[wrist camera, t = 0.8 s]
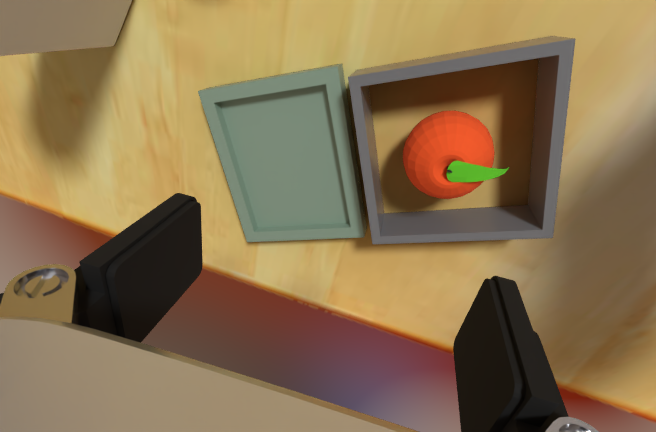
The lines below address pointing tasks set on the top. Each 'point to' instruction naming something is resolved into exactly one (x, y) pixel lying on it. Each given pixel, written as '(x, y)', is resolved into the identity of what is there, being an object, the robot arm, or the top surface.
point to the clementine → (449, 155)
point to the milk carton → (59, 24)
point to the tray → (289, 155)
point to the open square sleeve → (544, 159)
